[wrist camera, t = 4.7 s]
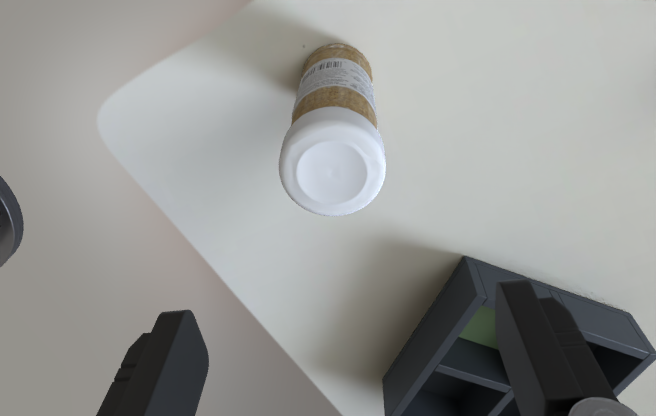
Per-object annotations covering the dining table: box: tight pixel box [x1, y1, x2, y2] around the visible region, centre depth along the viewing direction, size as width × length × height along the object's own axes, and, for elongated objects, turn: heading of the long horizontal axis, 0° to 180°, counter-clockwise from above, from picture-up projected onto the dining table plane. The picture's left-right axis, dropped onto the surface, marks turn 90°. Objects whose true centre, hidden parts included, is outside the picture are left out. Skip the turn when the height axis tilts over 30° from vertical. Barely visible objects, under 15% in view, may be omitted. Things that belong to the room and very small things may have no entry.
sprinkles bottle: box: [279, 43, 386, 216], centre depth 27 cm, size 5×5×13 cm
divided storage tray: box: [382, 256, 656, 416], centre depth 43 cm, size 15×15×5 cm
